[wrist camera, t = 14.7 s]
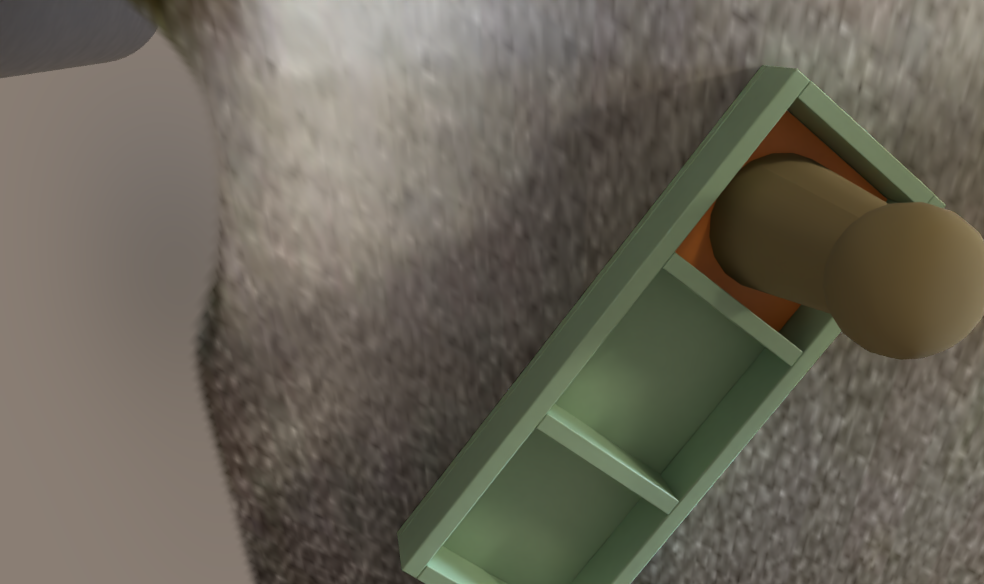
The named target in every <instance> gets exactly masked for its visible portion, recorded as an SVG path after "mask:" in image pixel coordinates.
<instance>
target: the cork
mask: <svg viewBox="0 0 984 584" xmlns="http://www.w3.org/2000/svg"><path fill="white" fill-rule="evenodd" d="M709 237H710V241H711V245H712V249H713V254H714V257H715V258H716V260H717V262H718V263H719V265H720V266H721V268H722V269H723V271H724V272H725V274H727V275H728V276H730V277H731V278H732V279H734V280H735V281H736V282H738V283H739V284H740V285H743V286H746V287H749V288H752V289H755V290H758V291H761V292H764V293H767V294H771V295H774V296H777V297H780V298H783V299H786V300H789V301H792V302H795V303H798V304H801V305H804V306H808V307H811V308H814V309H817V310H820V311H823V312H826V313H829V314H831V315H832V317H833V318H834V320H835V322H836V323H837V325H838V326H839V328H840V329H841V331H842V332H843V333H844V334H845V335H846V336H848V337H849V338H850V339H852V340H853V341H854V342H856V343H857V344H858V345H860V346H861V347H863V348H864V349H866V350H867V351H869V352H872V353H876V354H879V355H883V356H886V357H890V358H895V359H900V360H903V359H919V358H925V357H928V356H931V355H934V354H936V353H939V352H942V351H944V350H947V349H950V348H951V347H953V346H954V345H955V344H957V343H958V342H960V341H961V340H962V339H964V338H965V337H966V336H968V335H969V333H970V332H971V331H972V330H973V328H974V327H975V326H976V325H977V324H978V322H979V321H980V320H981V319H982V317H983V315H984V241H983V239H982V237H981V235H980V233H979V232H978V231H977V230H976V229H974V228H973V227H972V226H971V225H970V224H969V223H967V222H966V221H965V220H964V219H963V218H961V217H960V216H959V215H958V214H956V213H955V212H953V211H950V210H947V209H944V208H941V207H938V206H935V205H931V204H928V203H924V202H909V203H892V204H888V203H886V202H885V201H883V200H881V199H879V198H878V197H876V196H874V195H873V194H871V193H869V192H867V191H866V190H864V189H862V188H861V187H859V186H857V185H855V184H854V183H852V182H850V181H849V180H847V179H845V178H843V177H842V176H840V175H838V174H837V173H835V172H833V171H832V170H830V169H828V168H826V167H825V166H823V165H821V164H820V163H818V162H816V161H814V160H813V159H810V158H807V157H804V156H801V155H798V154H795V153H772V154H769V155H766V156H763V157H760V158H758V159H755V160H752V161H750V162H749V163H748V164H746V165H745V166H744V167H742V168H741V169H740V170H739V171H738V173H737V174H736V175H735V176H734V178H733V179H732V180H731V181H730V183H729V184H728V185H727V186H726V188H725V189H724V190H723V191H722V193H721V194H720V195H719V196H718V198H717V199H716V202H715V205H714V207H713V210H712V213H711V219H710V233H709Z"/></svg>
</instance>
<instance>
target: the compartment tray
mask: <svg viewBox="0 0 984 584" xmlns="http://www.w3.org/2000/svg"><path fill="white" fill-rule="evenodd" d="M772 153H795V154H798V155H801V156H804V157H807V158H810V159H813V160H814V161H816V162H818V163H820V164H821V165H823V166H825V167H826V168H828V169H830V170H832V171H833V172H835V173H837V174H838V175H840V176H842V177H843V178H845V179H847V180H849V181H850V182H852V183H854V184H855V185H857V186H859V187H861V188H862V189H864V190H866V191H867V192H869V193H871V194H873V195H874V196H876V197H878V198H879V199H881V200H883V201H885V202H886V203H888V204H892V203H909V202H924V203H928V204H931V205H935V206H938V207H941V208H945V206H946V205H945V204H944V203H943V202H942V201H941V200H940V199H939V198H938V197H937V196H936V195H934V193H933V192H932V191H931V190H930V189H929V188H927V187H926V186H925V185H924V184H923V183H922V182H921V181H920V180H919V179H918V178H917V177H915V176H914V175H913V174H912V173H911V172H910V171H909V170H908V169H907V168H906V167H905V166H903V165H902V164H901V163H900V162H899V161H898V160H897V159H896V158H895V157H894V156H892V155H891V154H890V153H889V152H888V151H887V150H886V149H885V148H884V147H883V146H882V145H880V144H879V143H878V142H877V141H876V140H875V139H874V138H873V137H872V136H871V135H870V134H868V133H867V132H866V131H865V130H864V129H863V128H862V127H861V126H860V125H859V124H858V123H856V122H855V121H854V120H853V119H852V118H851V117H850V116H849V115H848V114H847V113H846V112H844V111H843V110H842V109H841V108H840V107H839V106H838V105H837V104H836V103H835V102H833V101H832V100H831V99H830V98H829V97H828V96H827V95H826V94H825V93H824V92H823V91H821V90H820V89H819V88H818V87H817V86H816V85H815V84H814V83H813V82H812V81H809V79H808V78H807V77H806V76H805V75H804V74H803V73H801V72H800V71H799V70H798V69H795V68H784V67H773V66H764V65H762V66H761V67H760V69H759V70H758V71H757V72H756V74H755V75H754V76H753V78H752V79H751V80H750V81H749V83H748V84H747V85H746V87H745V88H744V89H743V90H742V92H741V93H740V94H739V95H738V97H737V98H736V99H735V101H734V102H733V103H732V104H731V106H730V107H729V108H728V110H727V111H726V112H725V113H724V115H723V116H722V117H721V119H720V120H719V121H718V122H717V124H716V125H715V126H714V127H713V129H712V130H711V131H710V133H709V134H708V135H707V136H706V138H705V139H704V140H703V142H702V143H701V144H700V145H699V147H698V148H697V149H696V151H695V152H694V153H693V154H692V156H691V157H690V158H689V159H688V161H687V162H686V163H685V165H684V166H683V167H682V168H681V170H680V171H679V172H678V174H677V175H676V176H675V177H674V179H673V180H672V181H671V182H670V184H669V185H668V186H667V188H666V189H665V190H664V191H663V193H662V194H661V195H660V197H659V198H658V199H657V200H656V202H655V203H654V204H653V206H652V207H651V208H650V209H649V211H648V212H647V213H646V214H645V216H644V217H643V218H642V220H641V221H640V222H639V223H638V225H637V226H636V227H635V229H634V230H633V231H632V232H631V234H630V235H629V236H628V238H627V239H626V240H625V241H624V243H623V244H622V245H621V246H620V248H619V249H618V250H617V252H616V253H615V254H614V255H613V257H612V258H611V259H610V261H609V262H608V263H607V264H606V266H605V267H604V268H603V270H602V271H601V272H600V273H599V275H598V276H597V277H596V278H595V280H594V281H593V282H592V284H591V285H590V286H589V287H588V289H587V290H586V291H585V293H584V294H583V295H582V296H581V298H580V299H579V300H578V302H577V303H576V304H575V305H574V307H573V308H572V309H571V310H570V312H569V313H568V314H567V316H566V317H565V318H564V319H563V321H562V322H561V323H560V325H559V326H558V327H557V328H556V330H555V331H554V332H553V334H552V335H551V336H550V337H549V339H548V340H547V341H546V342H545V344H544V345H543V346H542V348H541V349H540V350H539V351H538V353H537V354H536V355H535V357H534V358H533V359H532V360H531V362H530V363H529V364H528V365H527V367H526V368H525V369H524V371H523V372H522V373H521V374H520V376H519V377H518V378H517V380H516V381H515V382H514V383H513V385H512V386H511V387H510V389H509V390H508V391H507V392H506V394H505V395H504V396H503V397H502V399H501V400H500V401H499V403H498V404H497V405H496V406H495V408H494V409H493V410H492V412H491V413H490V414H489V415H488V417H487V418H486V419H485V421H484V422H483V423H482V424H481V426H480V427H479V428H478V429H477V431H476V432H475V433H474V435H473V436H472V437H471V438H470V440H469V441H468V442H467V444H466V445H465V446H464V447H463V449H462V450H461V451H460V453H459V454H458V455H457V456H456V458H455V459H454V460H453V461H452V463H451V464H450V465H449V467H448V468H447V469H446V470H445V472H444V473H443V474H442V476H441V477H440V478H439V479H438V481H437V482H436V483H435V485H434V486H433V487H432V488H431V490H430V491H429V492H428V493H427V495H426V496H425V497H424V499H423V500H422V501H421V502H420V504H419V505H418V506H417V508H416V509H415V510H414V511H413V513H412V514H411V515H410V517H409V518H408V519H407V520H406V522H405V523H404V524H403V525H402V527H401V528H400V529H399V531H398V532H397V537H398V544H399V553H400V562H401V570H402V571H403V572H405V573H407V574H409V575H411V576H412V577H414V578H417V579H418V580H419V581H421V582H423V583H425V584H630V583H631V582H632V581H633V580H634V579H635V577H636V576H637V575H638V574H639V573H640V571H641V570H642V569H643V568H644V567H645V565H646V564H647V563H648V562H649V561H650V559H651V558H652V557H653V556H654V555H655V553H656V552H657V551H658V550H659V549H660V547H661V546H662V545H663V544H664V543H665V541H666V540H667V539H668V538H669V537H670V535H671V534H672V533H673V532H674V531H675V529H676V528H677V527H678V526H679V525H680V523H681V522H682V521H683V520H684V519H685V517H686V516H687V515H688V514H689V513H690V512H691V510H692V509H693V508H694V507H695V506H696V504H697V503H698V502H699V501H700V500H701V498H702V497H703V496H704V495H705V494H706V492H707V491H708V490H709V489H710V488H711V486H712V485H713V484H714V483H715V482H716V480H717V479H718V478H719V477H720V476H721V474H722V473H723V472H724V471H725V470H726V468H727V467H728V466H729V465H730V464H731V462H732V461H733V460H734V459H735V458H736V456H737V455H738V454H739V453H740V452H741V450H742V449H743V448H744V447H745V446H746V444H747V443H748V442H749V441H750V440H751V439H752V437H753V436H754V435H755V434H756V433H757V431H758V430H759V429H760V428H761V427H762V425H763V424H764V423H765V422H766V421H767V419H768V418H769V417H770V416H771V415H772V413H773V412H774V411H775V410H776V409H777V407H778V406H779V405H780V404H781V403H782V401H783V400H784V399H785V398H786V397H787V395H788V394H789V393H790V392H791V391H792V389H793V388H794V387H795V386H796V385H797V383H798V382H799V381H800V380H801V379H802V377H803V376H804V375H805V374H806V373H807V371H808V370H809V369H810V368H811V367H812V366H813V364H814V363H815V362H816V361H817V360H818V358H819V357H820V356H821V355H822V354H823V352H824V351H825V350H826V349H827V348H828V346H829V345H830V344H831V343H832V342H833V340H834V339H835V338H836V337H837V336H838V334H839V333H840V332H841V329H840V328H839V326H838V325H837V323H836V322H835V320H834V318H833V317H832V315H831V314H829V313H826V312H823V311H820V310H817V309H814V308H811V307H808V306H804V305H801V304H798V303H795V302H792V301H789V300H786V299H783V298H780V297H777V296H774V295H771V294H767V293H764V292H761V291H758V290H755V289H752V288H749V287H746V286H743V285H740V284H739V283H738V282H736V281H735V280H734V279H732V278H731V277H730V276H728V275H727V274H725V272H724V271H723V269H722V268H721V266H720V265H719V263H718V262H717V260H716V258H715V257H714V254H713V249H712V245H711V241H710V237H709V233H710V219H711V213H712V210H713V207H714V205H715V202H716V199H717V198H718V196H719V195H720V194H721V193H722V191H723V190H724V189H725V188H726V186H727V185H728V184H729V183H730V181H731V180H732V179H733V178H734V176H735V175H736V174H737V173H738V171H739V170H740V169H741V168H742V167H744V166H745V165H746V164H748V163H749V162H750V161H752V160H755V159H758V158H760V157H763V156H766V155H769V154H772Z"/></svg>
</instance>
